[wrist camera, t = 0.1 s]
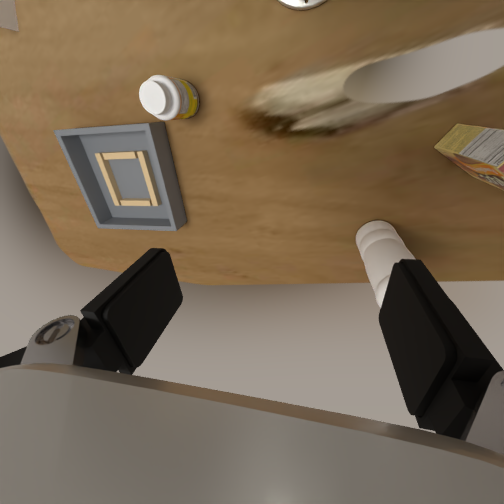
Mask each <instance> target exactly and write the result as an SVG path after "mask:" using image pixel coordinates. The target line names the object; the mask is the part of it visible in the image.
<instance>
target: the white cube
mask: <svg viewBox="0 0 504 504" xmlns="http://www.w3.org/2000/svg"><path fill="white" fill-rule="evenodd" d="M0 27H3V28H7V29H10V30H14V31H18V32H19V29H18V22H17V15H16V8H15V1H14V0H0Z"/></svg>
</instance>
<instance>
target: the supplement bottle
mask: <svg viewBox="0 0 504 504" xmlns="http://www.w3.org/2000/svg"><path fill="white" fill-rule="evenodd" d="M139 97H140V101H141V103H142V105H143V107H144V108H145V109H146V110H147V111H148V112H149V113H151V114H153V115H154V116H155V117H157V118H159V119H161V120H176V119H186V118H190V117H192V116H194V115H195V113H196V112H197V110H198V107H199V97H198V94H197V91H196V90H195V88H194V87H193V85H192V84H190V83H189V82H187V81H185V80H181V79H176V78H172V77H167V76H163V75H154V76H152V77H150V78H149V79H148V80H147V81H145V82H144V83H143V84H142V85H141V87H140V90H139Z"/></svg>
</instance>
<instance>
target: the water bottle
mask: <svg viewBox="0 0 504 504" xmlns="http://www.w3.org/2000/svg"><path fill="white" fill-rule="evenodd" d="M356 244H357V246H358V249H359V250H360V255H361V257H362V260H363V261H364V264H365V268H366V272H367V275H368V278H369V280H370V283H371V285H372V288H373V290H374V292H375V297H376V301H377V303H378V305H379V306H380V308H381V306H382V302H383V299H384V295H385V292H386V288H387V285H388V282H389V278H390V275H391V271H392V268H393V265H394V263H396V262H398V263H399V261H400V260H401V259H415V257H414V256H413V255H412V253H411V252H410V251H409V250H408V249H407V248H406V246H405V244H404V242H403V240H402V239H401V238H400V237H399V236H398V234H397V232H396V230H395V229H394V227H393V226H392V225H391V224H389V223H387V222H385V221H371V222H368V223H366V224H365V225H363V226H362V227H361V228H360V229H359V230H358V232H357V234H356Z"/></svg>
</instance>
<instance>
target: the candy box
mask: <svg viewBox="0 0 504 504" xmlns="http://www.w3.org/2000/svg"><path fill="white" fill-rule="evenodd" d="M434 148H435V149H436V150H438V151H439V152H440V153H442V154H443V155H444V156H445V157H447V158H448V159H449V160H451V161H452V162H453V163H455V164H456V165H457V166H459V167H460V168H461V169H463V170H464V171H466V172H467V173H468V174H470V175H471V176H472V177H474V178H477V179H479V180H481V181H483V182H486V183H488V184H490V185H492V186H495V187H497V188H499V189H501V190H503V191H504V129H497V128H489V127H482V126H474V125H465V124H459V123H458V124H456V125H455V126H454V127H453V128H452V129H451V130H450V131H449V132H448V133H447V134H446V135H445V136H444V137H443V138H442V139H441V140H440V141H439V142H438V143H437V144H436V145H435V146H434Z"/></svg>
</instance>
